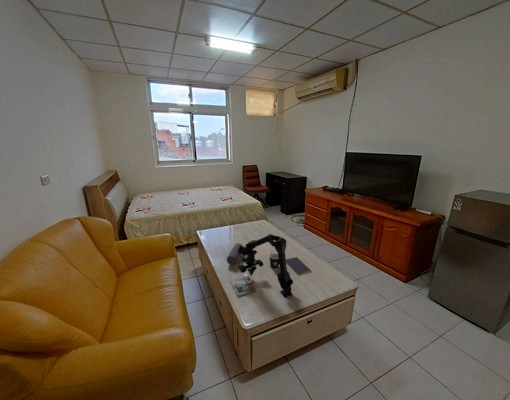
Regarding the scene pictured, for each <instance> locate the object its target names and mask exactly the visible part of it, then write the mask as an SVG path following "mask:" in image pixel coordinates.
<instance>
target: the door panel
mask: <svg viewBox="0 0 510 400" xmlns="http://www.w3.org/2000/svg"><path fill="white" fill-rule="evenodd" d="M230 284H231V286H232V288H233V290H234V292H235V294H236V296H237V298H239V297H242V296H245V295H248V294H252V293H255V292H258V289H257V288H256V286H255V285H254V283H253V281H252V280H251V285H248V284H247V282H246V280H245V278H244V277H242V278H238V279H234V280H230Z"/></svg>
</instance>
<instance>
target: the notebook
mask: <svg viewBox="0 0 510 400" xmlns="http://www.w3.org/2000/svg"><path fill="white" fill-rule="evenodd" d="M286 265H287V266H288V267H289V268H290V269H291V270H292V271H293V272H294V273H295V274H296V275H297V276H298V275H303V274H306V273H309V272H312V270H311V269H310V268H309V267H308V266H307V265H306V264H305V263H304V262H303V261H302V260H301V259H300V258H299V257H297V256H296V257H292V258H286Z"/></svg>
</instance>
